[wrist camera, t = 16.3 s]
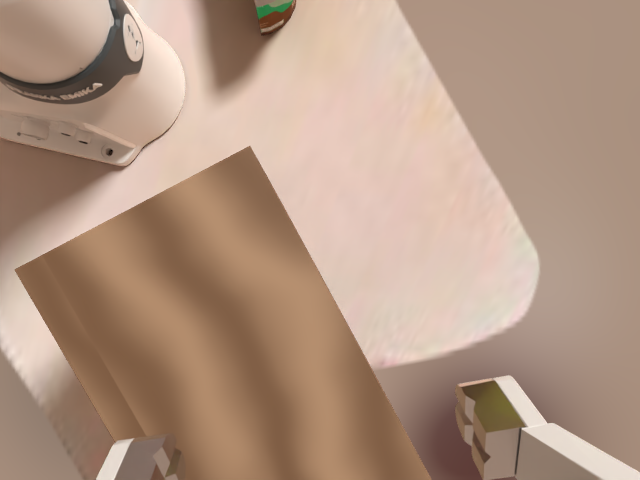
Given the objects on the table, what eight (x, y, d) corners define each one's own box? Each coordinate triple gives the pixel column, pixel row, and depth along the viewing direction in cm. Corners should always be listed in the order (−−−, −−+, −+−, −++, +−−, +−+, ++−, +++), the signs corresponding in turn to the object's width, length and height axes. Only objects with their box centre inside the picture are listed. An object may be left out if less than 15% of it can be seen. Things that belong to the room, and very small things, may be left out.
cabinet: (262, 438, 45) (227, 634, 23) (157, 251, 44) (14, 269, 22) (375, 374, 46) (445, 505, 24) (274, 189, 44) (249, 145, 22)
